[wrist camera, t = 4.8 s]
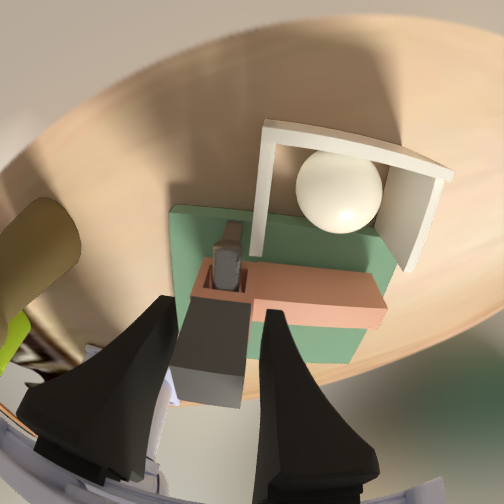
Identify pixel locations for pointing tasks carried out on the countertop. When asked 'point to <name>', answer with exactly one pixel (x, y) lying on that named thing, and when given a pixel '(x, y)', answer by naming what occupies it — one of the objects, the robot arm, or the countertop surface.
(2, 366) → the soap dispenser
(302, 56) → the countertop surface
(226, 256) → the rod
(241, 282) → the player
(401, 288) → the countertop surface
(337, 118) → the countertop surface
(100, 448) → the robot arm
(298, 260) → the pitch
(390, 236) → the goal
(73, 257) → the cork
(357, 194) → the ball
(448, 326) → the countertop surface
